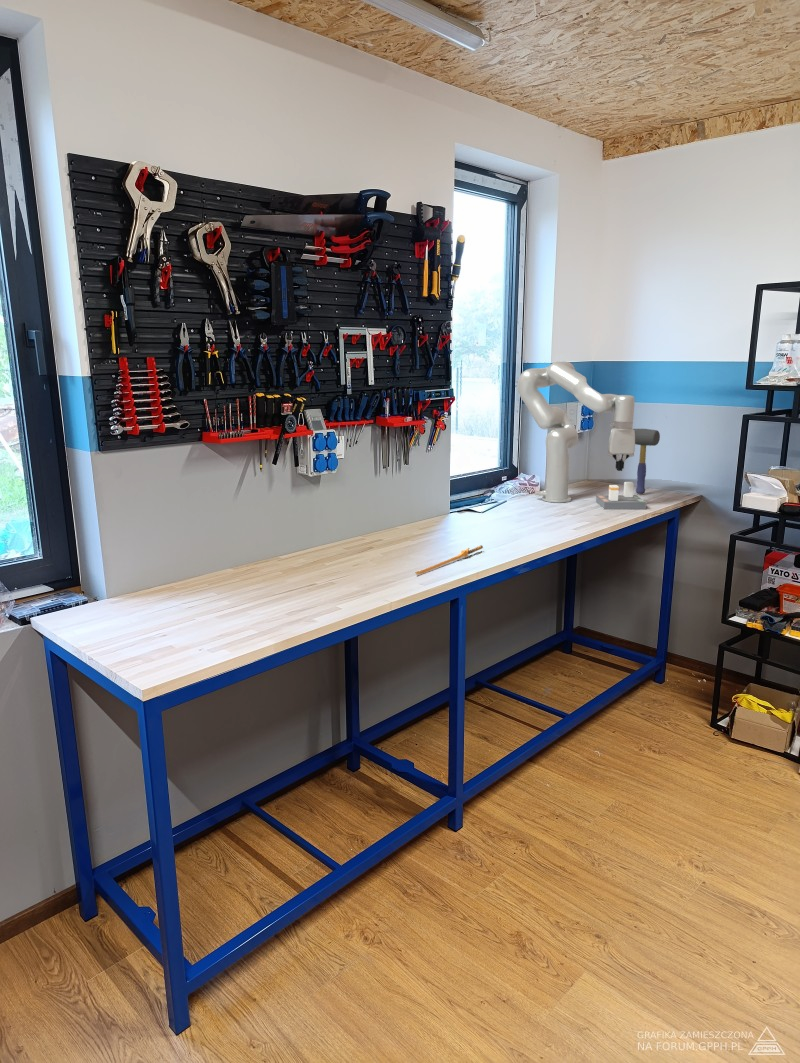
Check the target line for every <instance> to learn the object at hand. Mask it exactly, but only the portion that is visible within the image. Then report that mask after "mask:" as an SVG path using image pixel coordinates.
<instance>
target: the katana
mask: <svg viewBox="0 0 800 1063" xmlns="http://www.w3.org/2000/svg"><path fill="white" fill-rule="evenodd" d="M483 548H484V547H483V545H479V546H477V547H474V548H472V549H470V548H469V547H468V548H466V549H464V550H461V551H460V554H458V555H456V556H454V557H452V558H449V559H447V560H444V561H442V562H439V563H436V564H434V565H432V566H430V567H426V568H424V569H421V570H418V571H416V572H415V575H416V576H421V575H423V574H426V573H429V572H432V571H434V570H436V569H439V568H441V567H444V566H446V565H449V564H450V563H454V562H456V561H460V560H462V559H463V560H464V559H466V558H469V557H470V554H472V553H475V552H477V551H479V550H482V549H483Z"/></svg>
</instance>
